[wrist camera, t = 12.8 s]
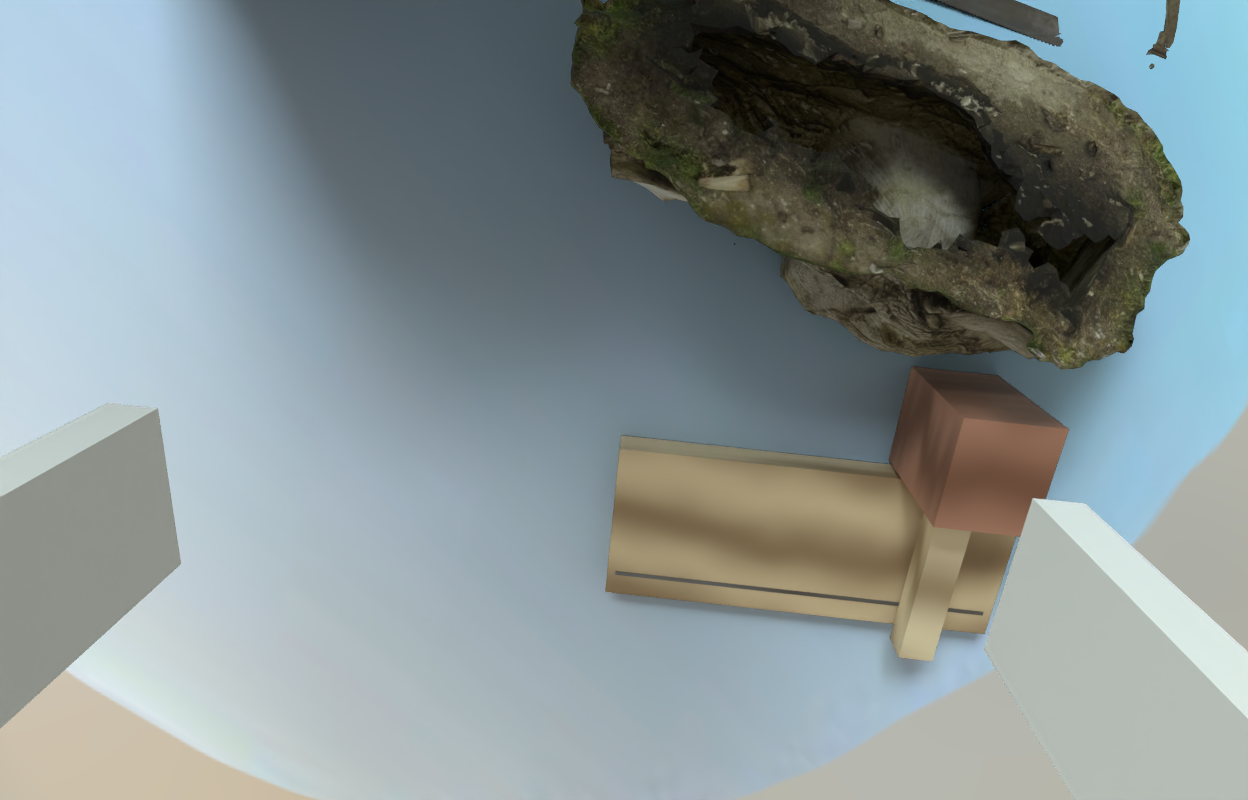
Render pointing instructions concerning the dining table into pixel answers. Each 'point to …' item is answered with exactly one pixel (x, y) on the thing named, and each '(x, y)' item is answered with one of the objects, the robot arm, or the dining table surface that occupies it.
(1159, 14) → the dining table surface
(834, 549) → the board
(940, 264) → the hollow geode rock
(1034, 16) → the dry twig
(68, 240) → the dining table surface
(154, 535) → the robot arm
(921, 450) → the brown block with handle
